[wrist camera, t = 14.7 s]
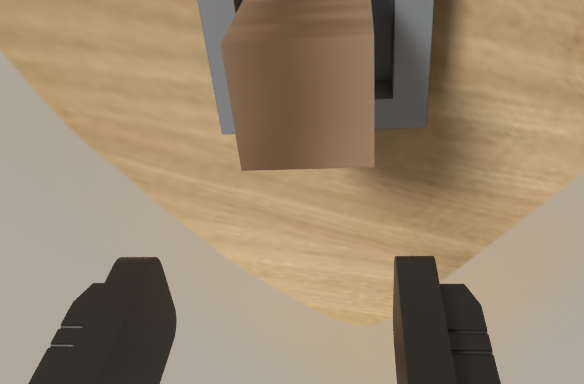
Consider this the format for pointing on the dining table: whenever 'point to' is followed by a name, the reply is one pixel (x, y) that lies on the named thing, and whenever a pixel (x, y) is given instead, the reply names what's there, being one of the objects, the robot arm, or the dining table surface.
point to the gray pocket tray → (387, 59)
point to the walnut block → (302, 83)
